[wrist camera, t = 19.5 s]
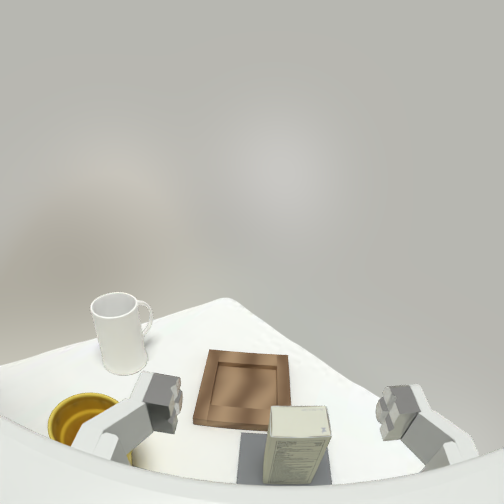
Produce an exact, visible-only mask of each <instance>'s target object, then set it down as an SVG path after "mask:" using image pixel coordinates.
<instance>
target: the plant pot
mask: <svg viewBox="0 0 504 504" xmlns="http://www.w3.org/2000/svg"><path fill="white" fill-rule="evenodd" d="M117 403H119V402H118V401H116V400H115V399H113V398H111V397H109V396H107V395H104V394H99V393H81V394H77V395H73V396H71V397H69V398H67V399H65V400H63V401H62V402H60V403H59V404H58V405H57V406H56V407H55V408H54V410H53V411H52V413H51V415H50V417H49V420H48V434H49V437H50V439H53V440H55V441H57V442H60V443H62V444H65V445H68V446H70V447H71V445H72V443H73V441H74V439H75V437H76V435H77V433H78V431H79V429H80V427H81V425H82V424H83V423H85V422H87V421H88V420H90V419H92V418H93V417H95V416H97V415H99V414H100V413H102V412H104V411H105V410H107V409H109V408H110V407H112V406H114V405H115V404H117ZM131 453H132V451H130V452H129V453H128V454H127V455H126V456H127V458H128V460H129V462H130V464H131V466H132V456H131Z"/></svg>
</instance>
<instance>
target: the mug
mask: <svg viewBox="0 0 504 504" xmlns="http://www.w3.org/2000/svg"><path fill="white" fill-rule="evenodd" d="M140 305H141V306H145V307H147V308H148V310H149V314H150V317H149V322H148V324H147V326H146V328H145V329H144V330H143V331H142V329H141V323H140V316H139V310H138V306H140ZM91 313H92V318H93V322H94V326H95V330H96V334H97V338H98V342H99V346H100V349H101V353H102V357H103V364H104V367H105V368H106V369H107V370H108V371H109V372H111V373H113V374H116V375H131V374H134V373H136V372H138V371H140V370H141V369H143V368H144V367H145V365H146V363H147V361H148V356H147V353H146V351H145V346H144V341H143V337H144V336H145V335H146V334H147V333H148V331H149V330H150V328H151V325H152V321H153V312H152V309H151V307H150V306H149V305H148V304H147V303H145V302H144V301H141V300H136V299H135V297H134V296H132V295H130V294H127V293H121V292H115V293H108V294H105V295H102V296H100V297H98V298H97V299H95V300H94V301H93V302H92V304H91Z"/></svg>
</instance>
